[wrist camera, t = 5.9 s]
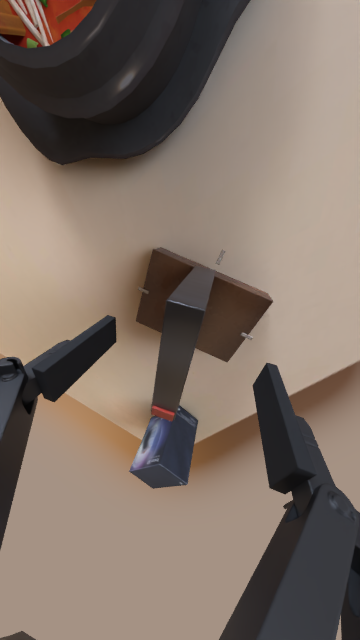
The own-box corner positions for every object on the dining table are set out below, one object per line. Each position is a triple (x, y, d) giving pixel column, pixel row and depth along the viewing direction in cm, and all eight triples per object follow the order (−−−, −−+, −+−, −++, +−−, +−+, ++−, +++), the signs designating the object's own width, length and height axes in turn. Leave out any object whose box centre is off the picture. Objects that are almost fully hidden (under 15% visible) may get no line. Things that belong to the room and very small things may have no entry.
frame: (195, 265, 17) (164, 301, 8) (215, 270, 17) (205, 312, 8) (178, 344, 23) (149, 415, 14) (193, 349, 23) (173, 423, 14)
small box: (176, 402, 33) (158, 464, 25) (199, 419, 34) (190, 486, 25) (149, 417, 39) (126, 472, 30) (170, 432, 40) (153, 490, 31)
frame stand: (288, 275, 18) (297, 281, 16) (222, 363, 26) (222, 376, 24) (162, 221, 18) (152, 220, 16) (136, 324, 26) (128, 333, 24)
